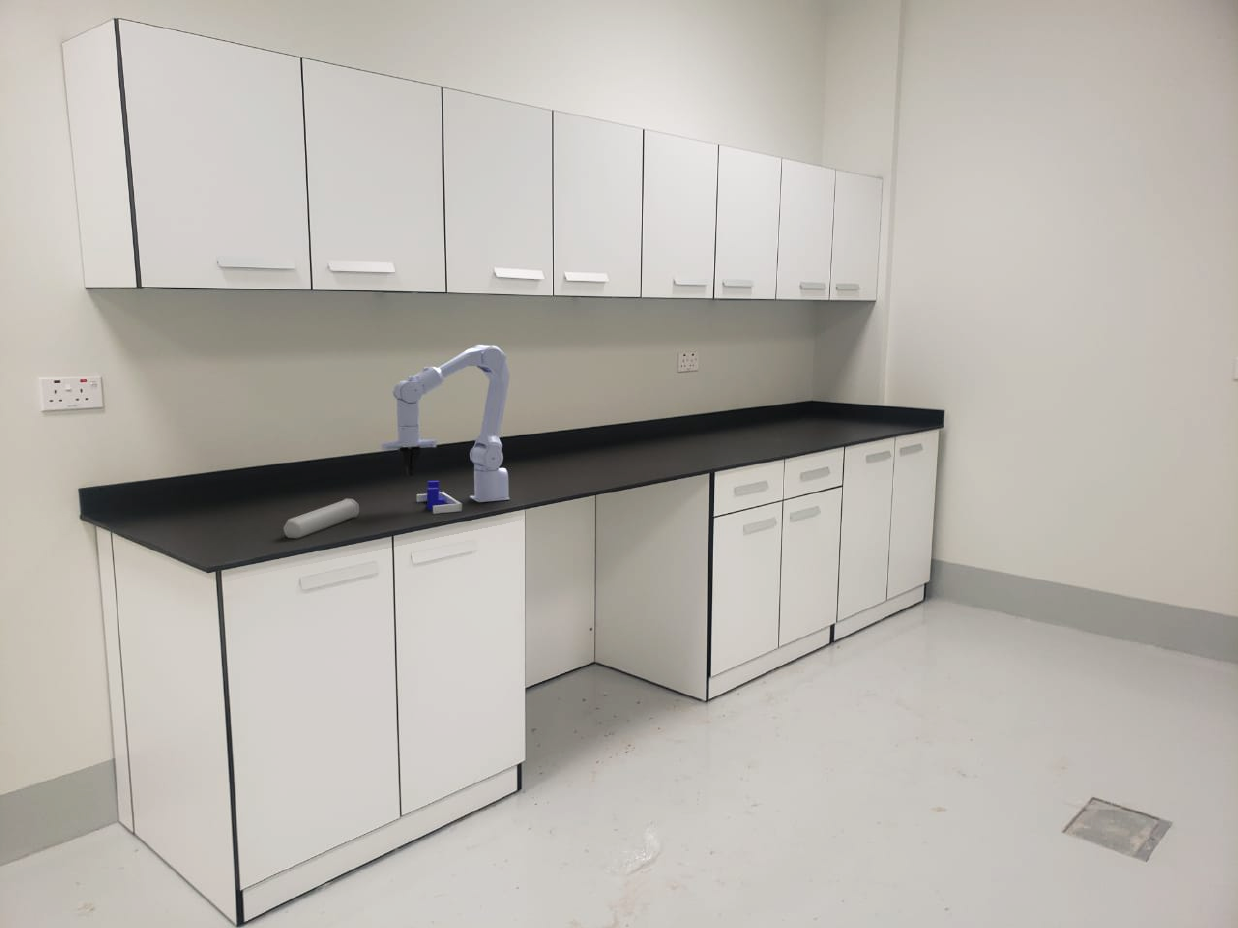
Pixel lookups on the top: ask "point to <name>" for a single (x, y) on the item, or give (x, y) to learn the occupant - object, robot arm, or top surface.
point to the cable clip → (433, 495)
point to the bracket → (451, 505)
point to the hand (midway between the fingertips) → (410, 474)
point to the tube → (321, 518)
